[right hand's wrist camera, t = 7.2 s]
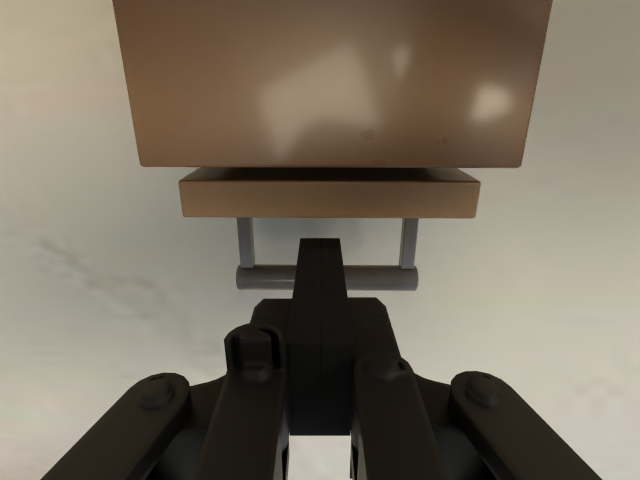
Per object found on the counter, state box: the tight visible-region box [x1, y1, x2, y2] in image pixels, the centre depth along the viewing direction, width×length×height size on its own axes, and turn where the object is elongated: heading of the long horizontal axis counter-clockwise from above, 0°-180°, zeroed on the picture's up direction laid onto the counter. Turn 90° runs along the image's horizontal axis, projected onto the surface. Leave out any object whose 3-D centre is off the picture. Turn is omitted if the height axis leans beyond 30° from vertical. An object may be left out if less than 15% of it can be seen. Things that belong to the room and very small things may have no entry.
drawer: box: [179, 167, 481, 291], centre depth 15 cm, size 21×9×10 cm, turn 0°
